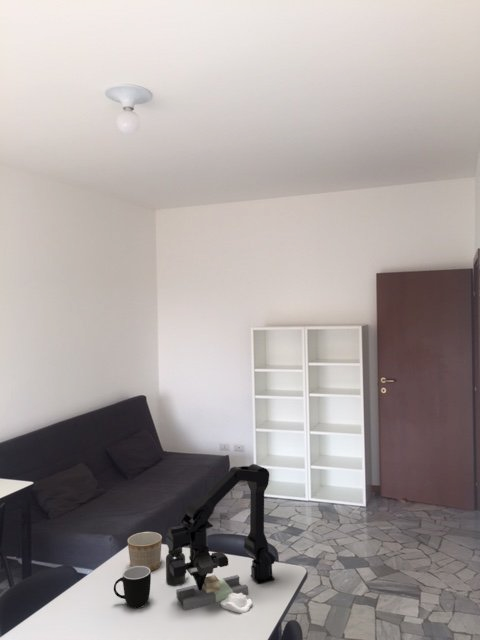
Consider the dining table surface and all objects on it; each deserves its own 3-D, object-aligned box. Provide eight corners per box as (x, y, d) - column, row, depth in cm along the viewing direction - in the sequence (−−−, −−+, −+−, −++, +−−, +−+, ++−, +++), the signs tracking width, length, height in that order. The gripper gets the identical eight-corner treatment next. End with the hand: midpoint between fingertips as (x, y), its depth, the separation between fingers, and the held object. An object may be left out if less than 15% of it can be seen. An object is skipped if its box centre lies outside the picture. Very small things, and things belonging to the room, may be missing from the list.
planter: (159, 574, 192) (158, 545, 192) (124, 574, 192) (124, 546, 192) (165, 558, 204) (164, 531, 204) (132, 559, 205) (131, 532, 205)
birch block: (214, 583, 179) (214, 574, 179) (219, 589, 175) (219, 580, 175) (202, 586, 177) (202, 577, 177) (206, 593, 173) (206, 583, 173)
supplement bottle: (182, 586, 182) (181, 551, 182) (163, 585, 184) (162, 550, 184) (188, 577, 189) (187, 543, 189) (170, 575, 190) (169, 542, 190)
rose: (222, 602, 164) (218, 587, 173) (222, 617, 164) (218, 600, 173) (254, 598, 165) (248, 583, 175) (254, 613, 165) (248, 597, 175)
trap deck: (237, 582, 184) (237, 574, 184) (248, 594, 176) (247, 586, 176) (176, 597, 176) (176, 589, 176) (184, 610, 167) (184, 602, 167)
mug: (152, 595, 177) (151, 565, 177) (150, 609, 168) (149, 578, 168) (116, 597, 176) (115, 567, 176) (111, 612, 167) (110, 580, 167)
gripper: (178, 558, 163) (179, 608, 163) (234, 546, 170) (235, 594, 171) (168, 544, 173) (169, 592, 173) (221, 533, 181) (222, 579, 181)
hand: (199, 589), depth 174 cm, fingers closed
